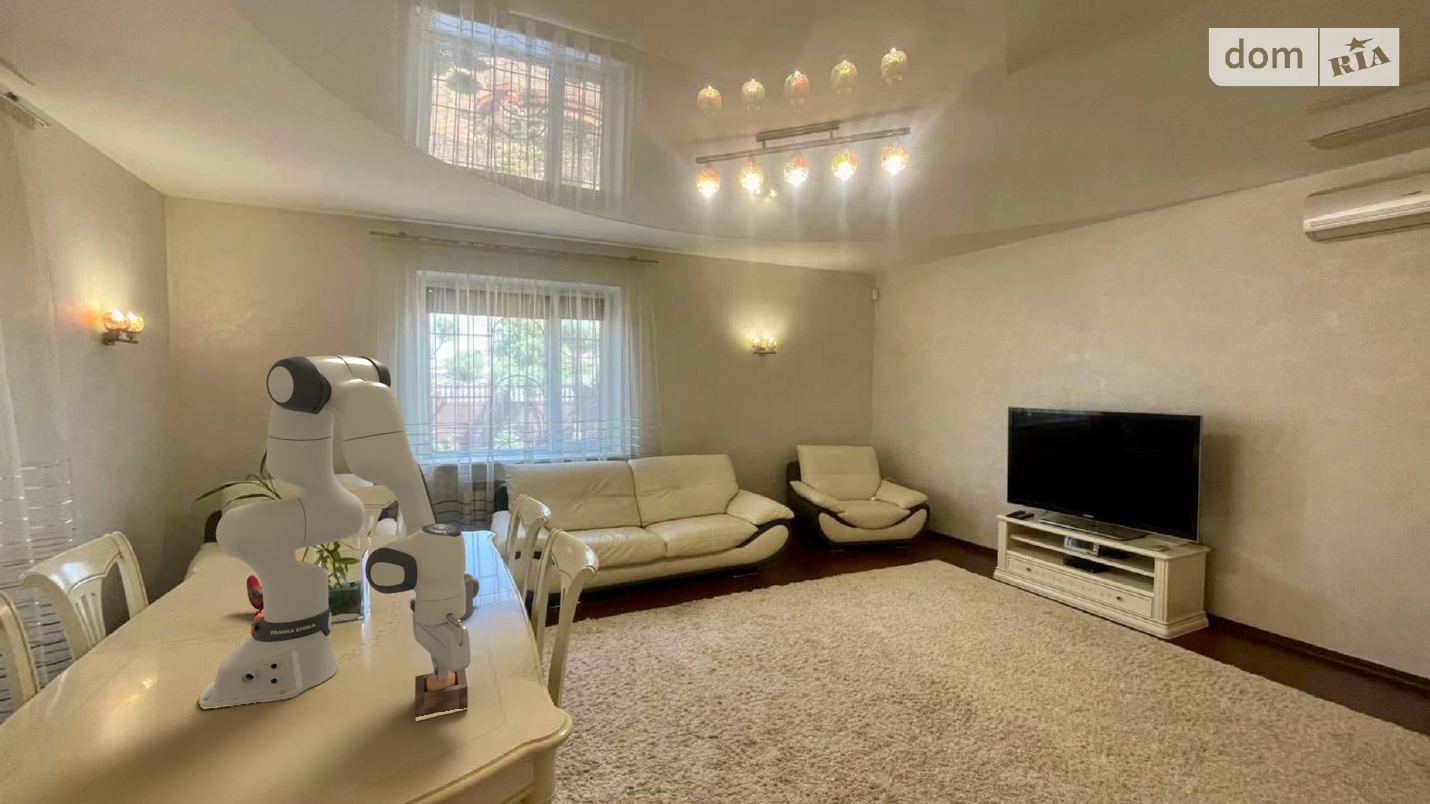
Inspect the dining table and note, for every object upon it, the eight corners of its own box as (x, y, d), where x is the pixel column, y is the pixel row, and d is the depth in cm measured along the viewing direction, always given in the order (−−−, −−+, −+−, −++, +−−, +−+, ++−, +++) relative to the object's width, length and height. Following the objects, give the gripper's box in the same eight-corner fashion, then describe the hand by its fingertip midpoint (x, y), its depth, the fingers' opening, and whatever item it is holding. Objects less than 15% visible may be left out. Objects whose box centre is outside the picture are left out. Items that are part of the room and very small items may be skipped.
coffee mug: (445, 625, 146) (445, 587, 146) (426, 616, 152) (426, 580, 152) (491, 609, 157) (491, 574, 157) (471, 601, 163) (471, 567, 163)
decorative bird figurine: (254, 607, 157) (254, 572, 157) (282, 621, 148) (282, 583, 148) (241, 610, 154) (241, 575, 154) (269, 624, 145) (269, 587, 145)
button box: (415, 722, 103) (415, 698, 103) (415, 698, 111) (415, 676, 111) (467, 709, 107) (467, 686, 107) (464, 687, 115) (464, 666, 115)
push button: (427, 707, 106) (427, 686, 106) (426, 694, 110) (426, 674, 110) (455, 700, 108) (455, 680, 108) (454, 688, 113) (454, 668, 112)
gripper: (479, 618, 104) (479, 690, 104) (439, 590, 118) (438, 654, 118) (444, 628, 99) (444, 703, 100) (406, 598, 114) (406, 664, 114)
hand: (441, 676), depth 109 cm, fingers closed
